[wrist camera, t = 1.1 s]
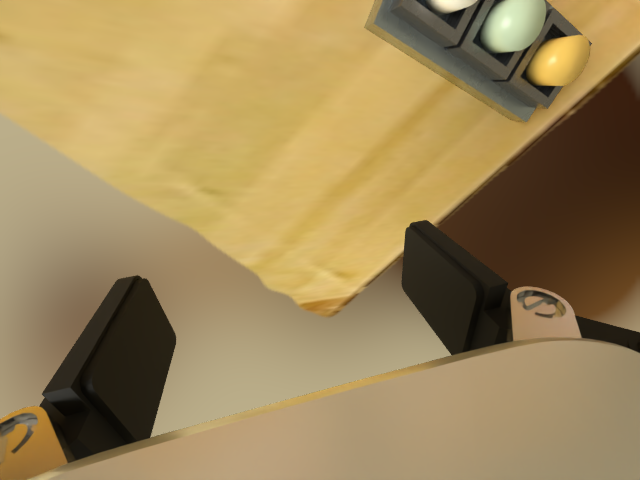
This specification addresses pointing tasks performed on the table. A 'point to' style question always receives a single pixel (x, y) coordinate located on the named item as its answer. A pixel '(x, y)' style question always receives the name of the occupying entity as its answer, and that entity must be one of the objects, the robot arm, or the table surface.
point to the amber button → (558, 61)
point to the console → (469, 51)
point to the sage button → (512, 25)
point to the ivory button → (448, 5)
